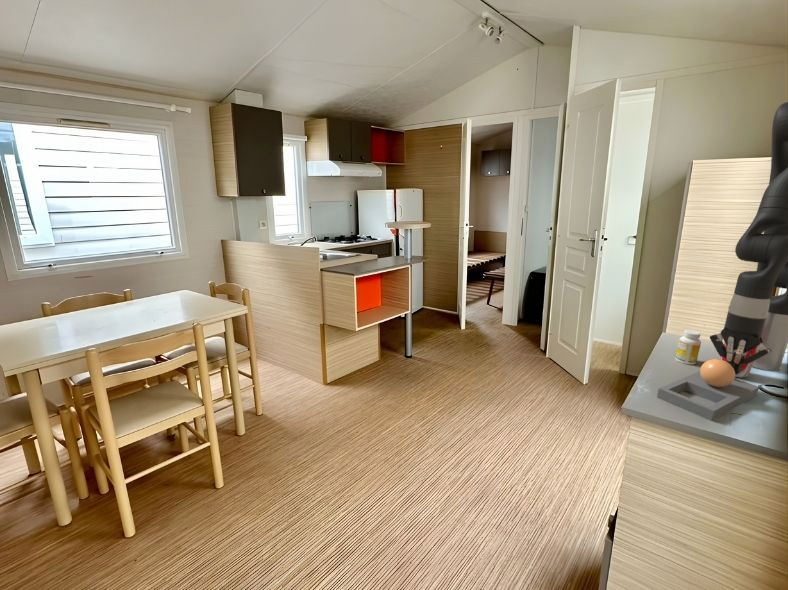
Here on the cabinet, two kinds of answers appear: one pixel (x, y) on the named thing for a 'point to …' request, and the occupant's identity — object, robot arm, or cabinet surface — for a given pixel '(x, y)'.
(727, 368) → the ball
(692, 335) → the supplement bottle
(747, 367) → the soda can
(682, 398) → the board
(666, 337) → the cabinet surface
